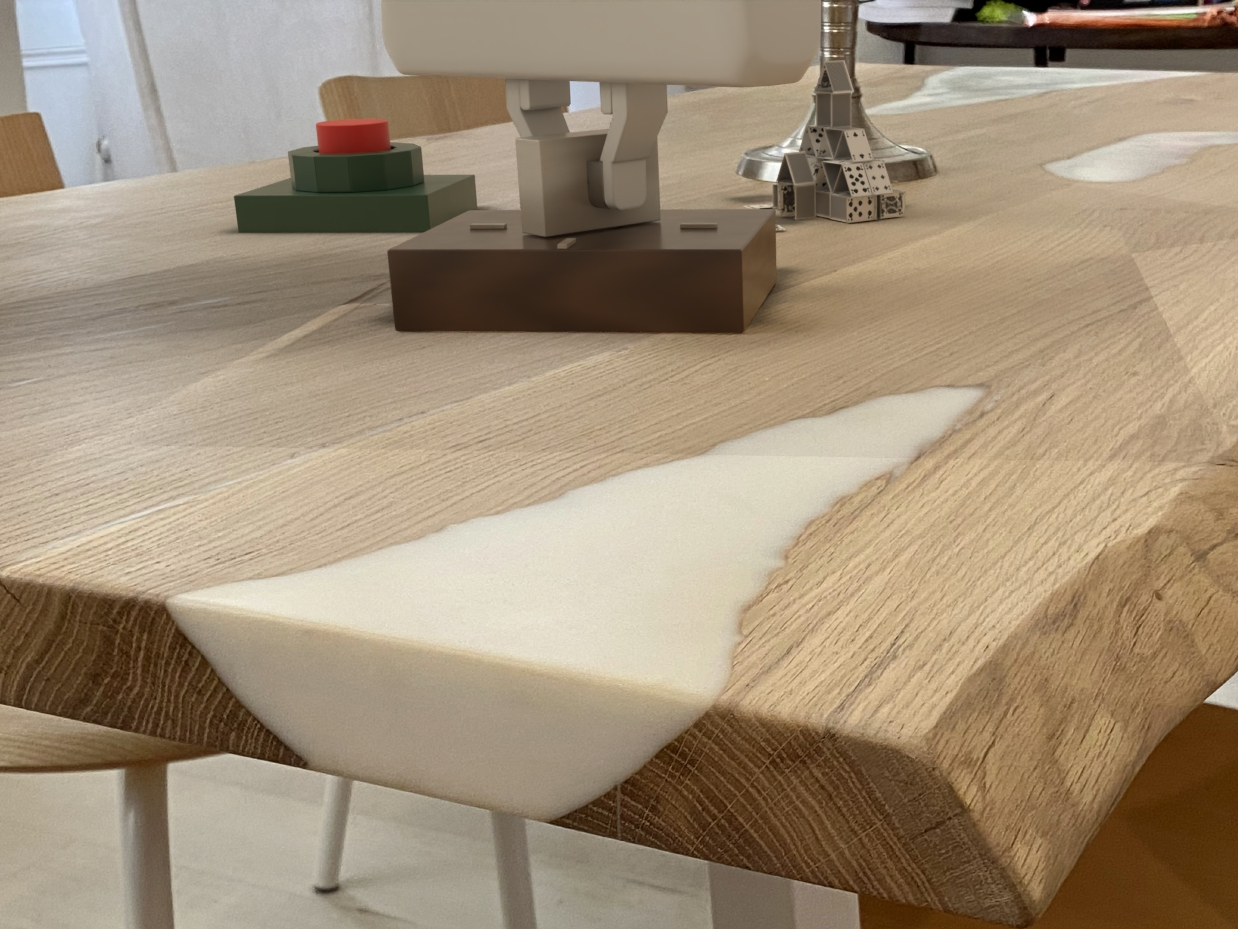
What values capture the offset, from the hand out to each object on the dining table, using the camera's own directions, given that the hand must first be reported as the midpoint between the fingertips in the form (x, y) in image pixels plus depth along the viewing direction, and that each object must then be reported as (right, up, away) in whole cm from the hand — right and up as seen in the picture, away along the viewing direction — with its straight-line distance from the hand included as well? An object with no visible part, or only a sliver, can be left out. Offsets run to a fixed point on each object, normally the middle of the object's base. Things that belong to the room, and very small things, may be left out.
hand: (590, 204), depth 62 cm
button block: (-14, +4, +22) cm, 26 cm away
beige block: (0, -1, 0) cm, 1 cm away
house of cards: (+8, +4, +23) cm, 25 cm away
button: (-14, +7, +21) cm, 26 cm away
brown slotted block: (0, -4, +1) cm, 4 cm away
